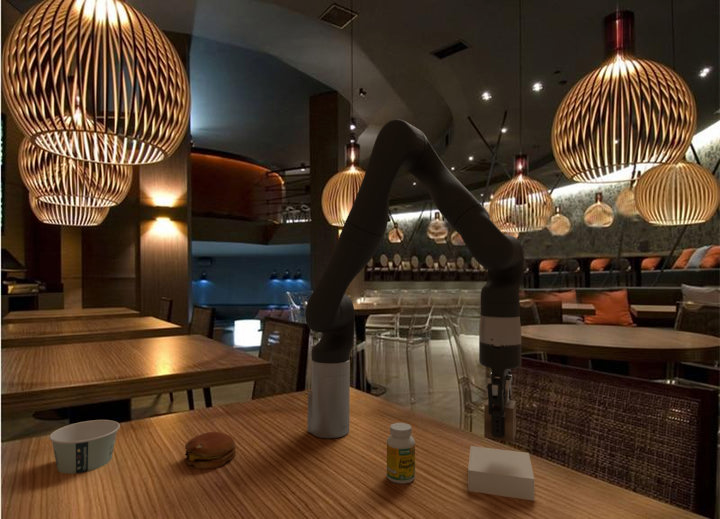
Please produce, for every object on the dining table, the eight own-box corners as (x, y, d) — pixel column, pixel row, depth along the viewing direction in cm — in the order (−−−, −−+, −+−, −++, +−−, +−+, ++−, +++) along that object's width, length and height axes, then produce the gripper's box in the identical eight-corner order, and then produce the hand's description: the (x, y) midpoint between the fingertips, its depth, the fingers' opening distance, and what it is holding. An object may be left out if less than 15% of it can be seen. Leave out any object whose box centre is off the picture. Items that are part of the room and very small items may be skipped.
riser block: (468, 492, 77) (468, 470, 77) (470, 465, 87) (470, 445, 88) (534, 502, 74) (534, 479, 74) (528, 473, 84) (528, 452, 84)
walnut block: (484, 437, 80) (484, 404, 80) (488, 428, 84) (488, 397, 84) (513, 442, 77) (513, 408, 78) (515, 432, 82) (515, 400, 82)
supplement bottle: (402, 468, 85) (403, 419, 85) (421, 479, 81) (421, 427, 81) (380, 475, 82) (381, 424, 82) (398, 487, 78) (398, 433, 78)
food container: (124, 465, 86) (124, 432, 86) (49, 483, 78) (50, 447, 78) (114, 445, 95) (115, 415, 95) (47, 460, 88) (48, 427, 88)
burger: (239, 449, 94) (239, 427, 94) (230, 469, 85) (230, 445, 85) (192, 450, 93) (192, 429, 93) (177, 471, 84) (178, 447, 84)
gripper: (485, 333, 89) (485, 416, 89) (472, 344, 76) (472, 441, 76) (524, 336, 86) (524, 422, 86) (517, 347, 73) (517, 449, 73)
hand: (500, 430), depth 81 cm, fingers closed on walnut block, 5 cm apart
